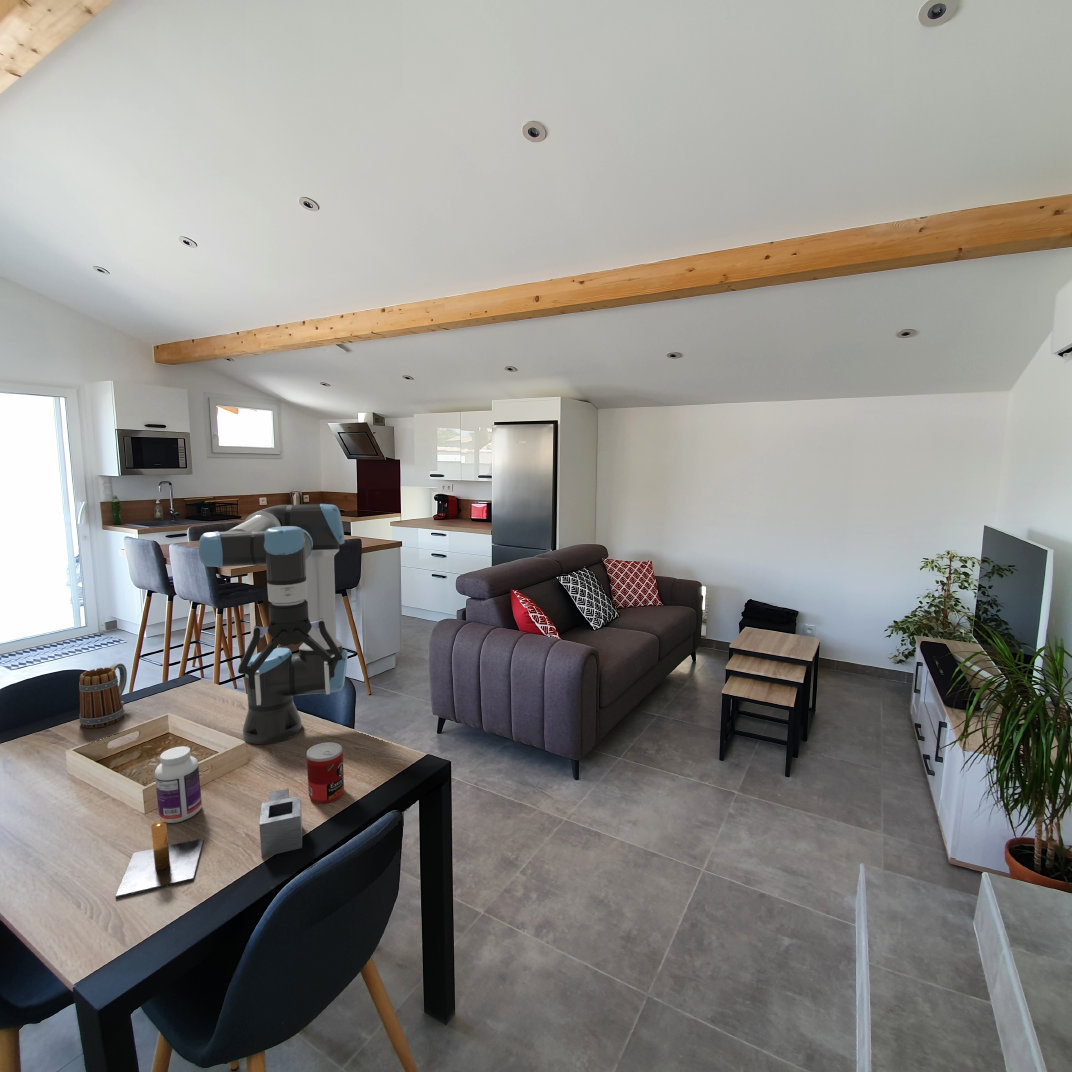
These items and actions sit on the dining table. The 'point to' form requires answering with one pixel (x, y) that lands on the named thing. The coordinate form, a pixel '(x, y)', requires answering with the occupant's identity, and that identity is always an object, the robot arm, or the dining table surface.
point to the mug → (102, 696)
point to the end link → (281, 826)
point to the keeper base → (160, 877)
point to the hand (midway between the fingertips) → (294, 697)
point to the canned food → (325, 772)
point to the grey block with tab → (278, 795)
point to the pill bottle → (178, 785)
